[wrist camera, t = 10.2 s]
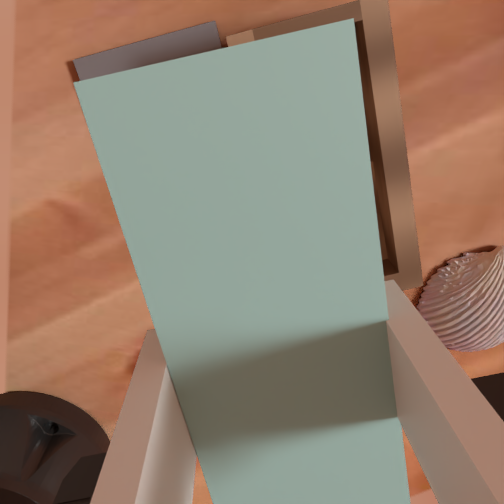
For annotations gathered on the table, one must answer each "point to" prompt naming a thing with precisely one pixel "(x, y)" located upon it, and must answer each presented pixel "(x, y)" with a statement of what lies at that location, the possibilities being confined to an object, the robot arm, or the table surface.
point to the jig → (374, 127)
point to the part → (261, 261)
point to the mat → (150, 51)
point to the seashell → (467, 301)
